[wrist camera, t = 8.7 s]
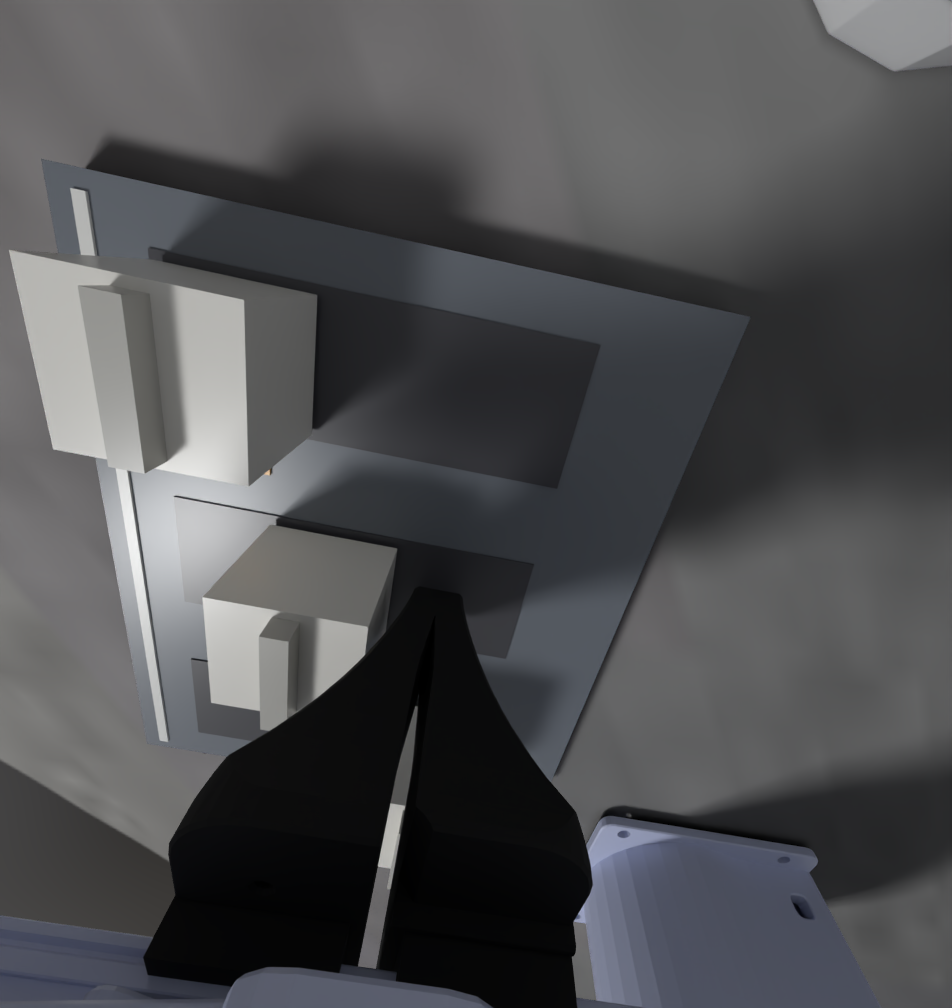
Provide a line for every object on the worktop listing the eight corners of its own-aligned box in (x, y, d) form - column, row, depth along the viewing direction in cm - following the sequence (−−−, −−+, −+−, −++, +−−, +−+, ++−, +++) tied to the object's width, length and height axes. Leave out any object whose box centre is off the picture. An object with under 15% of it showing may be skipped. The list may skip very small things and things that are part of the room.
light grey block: (481, 717, 15) (477, 841, 12) (463, 776, 17) (455, 902, 13) (378, 699, 15) (344, 820, 12) (369, 761, 17) (336, 884, 13)
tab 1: (317, 295, 10) (223, 301, 6) (311, 434, 11) (231, 501, 8) (152, 259, 10) (-33, 247, 6) (168, 406, 11) (22, 460, 8)
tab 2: (397, 548, 13) (361, 647, 9) (384, 636, 14) (349, 750, 11) (270, 524, 12) (185, 615, 9) (270, 615, 14) (196, 724, 10)
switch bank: (729, 313, 11) (752, 317, 10) (537, 782, 19) (540, 809, 18) (81, 169, 10) (38, 158, 9) (164, 720, 18) (146, 745, 17)
